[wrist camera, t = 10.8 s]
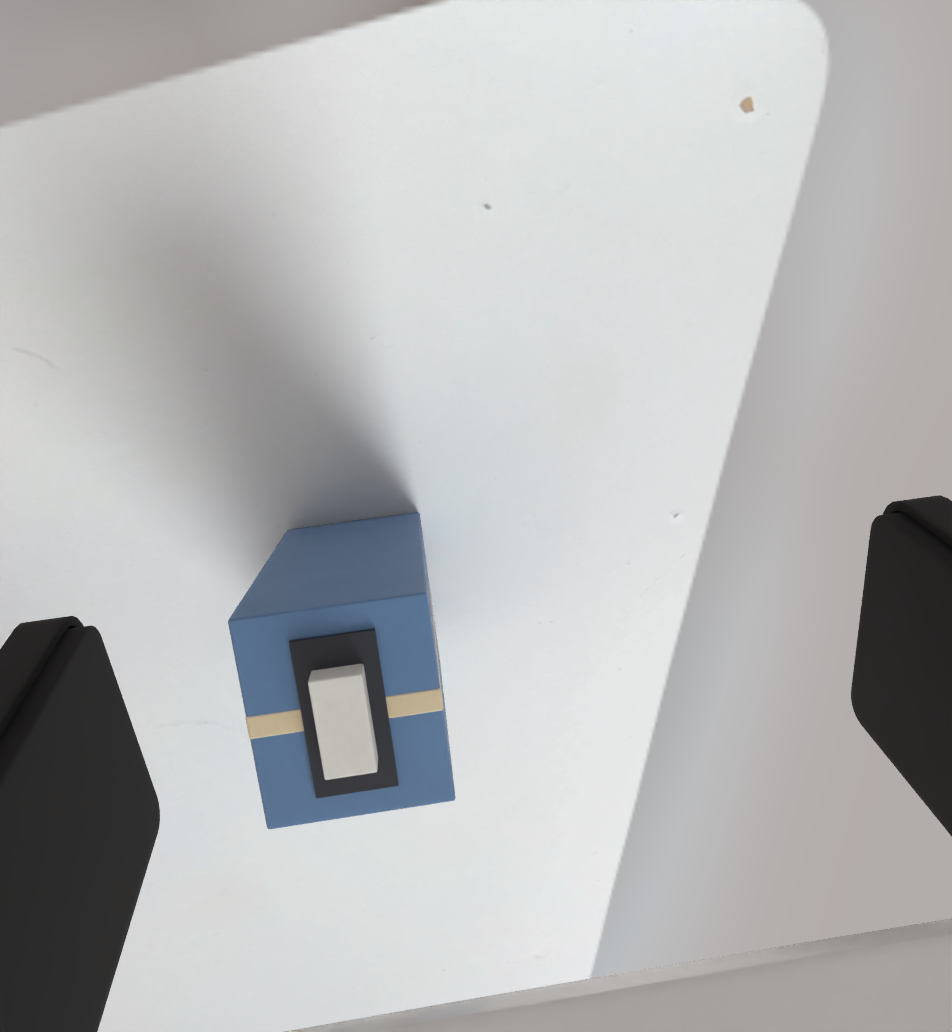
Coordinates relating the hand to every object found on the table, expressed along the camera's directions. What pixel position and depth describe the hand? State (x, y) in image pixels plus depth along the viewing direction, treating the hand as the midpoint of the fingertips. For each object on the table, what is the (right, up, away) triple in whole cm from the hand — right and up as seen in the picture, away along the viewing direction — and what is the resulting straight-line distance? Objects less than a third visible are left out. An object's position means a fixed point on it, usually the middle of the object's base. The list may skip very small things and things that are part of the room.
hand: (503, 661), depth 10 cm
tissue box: (-5, 0, +21) cm, 21 cm away
